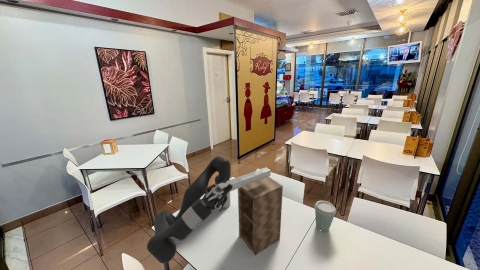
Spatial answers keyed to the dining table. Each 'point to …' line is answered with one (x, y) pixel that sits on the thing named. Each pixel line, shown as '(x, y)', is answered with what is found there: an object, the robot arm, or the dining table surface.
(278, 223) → the walnut shelf
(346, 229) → the dining table surface
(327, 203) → the disposable coffee cup
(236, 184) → the metal bar
